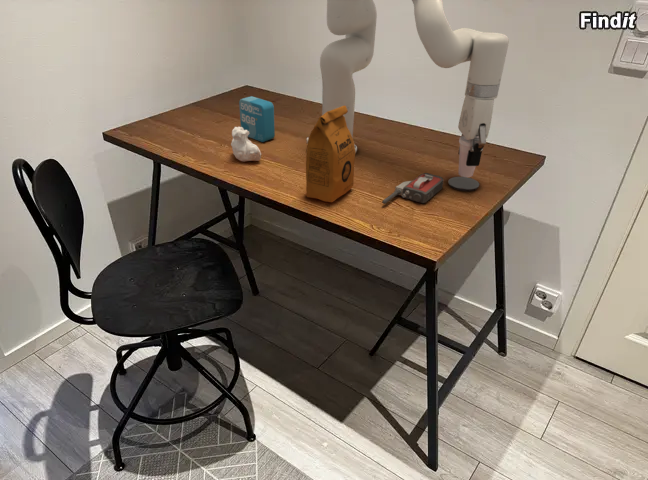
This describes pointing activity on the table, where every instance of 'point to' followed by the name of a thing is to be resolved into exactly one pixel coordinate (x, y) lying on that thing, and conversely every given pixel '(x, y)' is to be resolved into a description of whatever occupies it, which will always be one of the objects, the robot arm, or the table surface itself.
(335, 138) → the coffee package
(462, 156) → the smoothie
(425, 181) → the walkie-talkie
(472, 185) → the coaster
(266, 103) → the data package
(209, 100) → the table surface
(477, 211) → the table surface
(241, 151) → the white animal figurine
